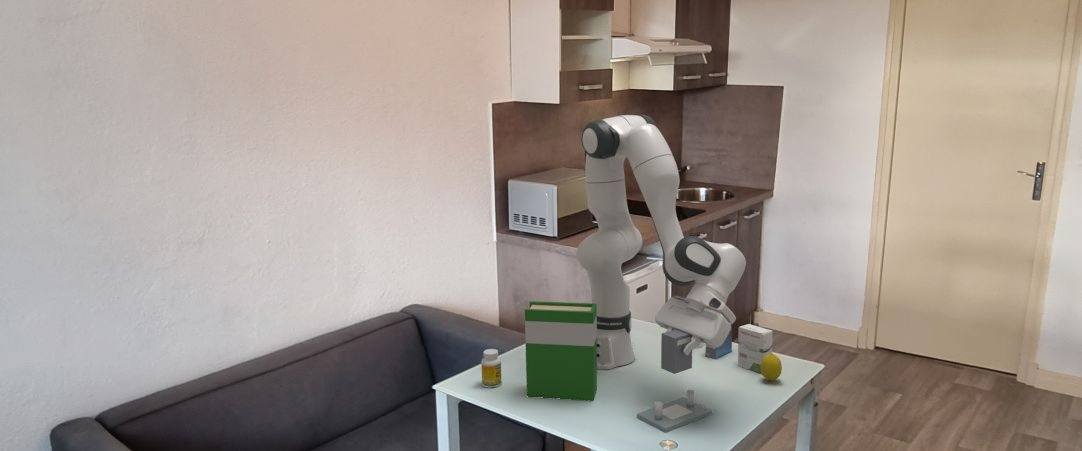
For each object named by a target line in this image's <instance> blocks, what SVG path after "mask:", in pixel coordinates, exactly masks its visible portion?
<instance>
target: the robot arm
mask: <svg viewBox="0 0 1082 451" xmlns="http://www.w3.org/2000/svg"><path fill="white" fill-rule="evenodd" d="M581 145H582V149H583V150H584V152H585V154H586V155H585V168H584V169H585V170H584V171H585V174H584V175H585V177H584V178H585V190H586V201H587V209H588V211H589V212H590V213H591V214H592V215H593V216H594V218H595V221H596V222H597V226H598V231H596V232H594V233H591V234H589V235H588V236H586V238H584V239H583V240H582V241H581V242H580V243H579V245H578V246H577V249H576V257H577V261H578V262H579V265H580V266H581V267H582V268H583V269H584V270H585V271H586V274H587V277H588V280H589V285H590V294H591V296H590V297H591V298H590V300H591V302H590V303H593V304H597V370H598V369H600V370H611V369H614V368H615V367H616V368H617V367H622V366H625V365H629V364H631V363H633V362H634V361H635V360H636V356H635V353H634V352H635V351H634V349H633V343H632V337H631V331H632V312H631V311H630V307H631V306H630V301H631V300H630V299H631V298H630V296H631V295H630V294H631V292H630V290H631V289H630V285H629V283H628V282H627V281H626V280H625V279H624V275H623V272H622V265H623V263H626V262H627V261H629V260H632V259H633V258H634V257H635V256H636V255H637V254H638V253H639V252H640V251H641V249H642V246H643V236H642V234H641V232H640V230H639V229H638V227H636V226H635V225H634V223H633V220H632V218H631V215H630V212H629V208H628V200H627V191H626V190H627V188H626V176H625V170H624V162H625V160H626V158H627V159H628V163H629V165H630V168H631V171H632V173H633V175H634V178H635V180H636V183H637V184H638V188H639V189H640V193H641V195H642V197H643V198H644V201H645V203H646V206H647V208H648V211H649V213H650V216H651V220H652V222H653V225H654V226H653V227H654V229H655V232H656V235H657V238H658V241H659V244H660V246H661V250H662V271H663V274H664V276H665V278H666V279H667V280H668V281H669V282H670V283H671V284H674V285H676V286H679V287H687V286H690V285H693V284H694V285H693V286H692V287H691V289H690V291H689V292H688V294H687V295H686V297H685V296H681V295H677V294H676V295H673V296H672V297H669V299H668V300H667V301H666V302H665V303H664V304H663V305H662V306H661V308H660V309H659V310H658V312H657V313H656V315H655V317H654V320H655V321H654V322H655V323H656V324H657V325H658V326H659V327H660V328H662V329H665V332H668V331H671V330H675V329H677V330H680V331H682V332H685V333H688V334H691V335H693V337H692V338H691V340H692V341H691V342H690V343H688V344H687V345H683V347H682V348H681V352H682V353H683V354H685V355H689V353H690V352H691V350H692V351H693V350H695V349H694V348H696V347H698V346H699V345H700V343H701V342H703V343H704V345H706V344H708V345H711V346H713V347H716V348H717V347H719V346H721V345H722V344H723V343H724V341H725V339H726V338H727V336H728V334H729V332H730V330H731V324H732V325H733V324H734V323H735V321H736V320H737V317H736V315H735V314H734V312H733V311H732V310H731V309H730V308H729V307H728V306H727V305H726V304H727V301H728V297H729V295H730V294H731V293H732V292H733V291H734V290H735V289H736V287H737V286H738V283H739V282H740V280H741V279H742V276H743V275H744V272H745V270H746V267H747V266H746V265H747V259H746V257H745V256H744V254H743V252H742V251H741V250H740V249H739V248H738V247H736V245H733V244H731V243H728V242H725V243H717V242H711V241H707V240H705V239H702V238H700V237H699V236H694V235H688V236H685V237H684V234H683V231H682V228H681V227H682V226H681V225H680V222H679V219H678V217H677V211H676V210H677V209H676V206H677V203H676V202H677V195H678V191H679V188H680V182H681V180H680V174H679V170H678V165H677V163H676V160H675V157H674V155H673V153H672V150H671V148H670V147H669V144H668V142H667V140H666V139H665V137H664V136H663V134H662V132H661V131H660V129H659V128H658V127H657V124H656V122H655V120H654V119H653V118H652V117H651V116H648V115H646V114H641V113H640V114H639V113H638V114H637V113H636V114H625V115H624V114H623V115H615V116H613V117H607V118H604V119H602V118H601V119H599V118H598V119H596V120H593V121H590V122H589V123H587V124H586V125H585V126H584V127H583V130H582V134H581Z"/></svg>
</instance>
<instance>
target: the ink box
mask: <svg viewBox="0 0 1082 451" xmlns="http://www.w3.org/2000/svg"><path fill="white" fill-rule="evenodd" d="M773 333H774V332H773V329H772V330H771V329H767V328H764V327H761V326H758V325H753V324H750V323H747V324H744V325H741V326H739V327H738V337H737V338H738V339H737V341H738V343H737V344H738V345H737V366H739V367H742V368H744V369H747V370H751V371H754V372H756V373H759V374H762V373H761V362H762V359H763V358H764V357H765V356H766V355H768V354H771V353H773V337H774V336H773Z"/></svg>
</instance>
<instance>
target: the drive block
mask: <svg viewBox="0 0 1082 451" xmlns="http://www.w3.org/2000/svg"><path fill="white" fill-rule="evenodd" d="M692 337H693V335H691V334H688V333H685V332H682V331H680V330H677V329H675V330H671V331H668V332H666V331H664V332H662V333H661V343H660V345H661V346H660V347H661V348H660V349H661V352H660V354H661V356H660V359H661V360H660V362H661V363H660V368H661V370H664V371H666V372H669V373H670V374H673V375H676V374H678V373H682V372H684V371H687V370H690V369H693V350H691V352H690V353H689V355H685V354H683V353H682V352H681V348H682V347H683V345H687V344H688V343H690V342H691V341H692V340H691V338H692Z"/></svg>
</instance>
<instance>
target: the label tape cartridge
mask: <svg viewBox="0 0 1082 451" xmlns="http://www.w3.org/2000/svg"><path fill="white" fill-rule="evenodd" d="M732 347H733V323H732V324H731V330H730V332H729V334H728V336H727V338H726V339H725V341H724V343H723V344H722V345H721V346H719V347H717V348H716V347H713V346H711V345H708V344H705V354H704V355H705V357H706V358H710V359H712V360H717V359H719V358H721V357H723V356H725V355H726V354H729V353H731V352H732V351H733V350H732V349H733V348H732Z"/></svg>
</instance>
